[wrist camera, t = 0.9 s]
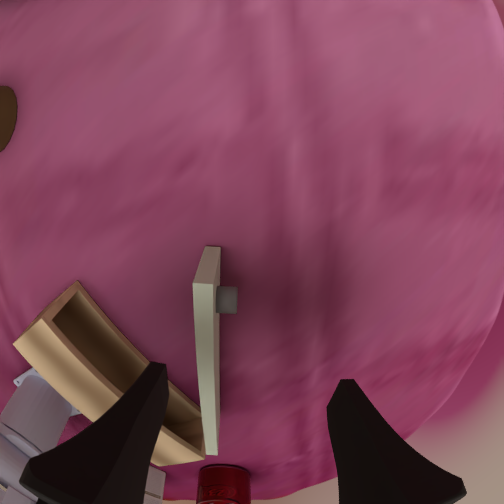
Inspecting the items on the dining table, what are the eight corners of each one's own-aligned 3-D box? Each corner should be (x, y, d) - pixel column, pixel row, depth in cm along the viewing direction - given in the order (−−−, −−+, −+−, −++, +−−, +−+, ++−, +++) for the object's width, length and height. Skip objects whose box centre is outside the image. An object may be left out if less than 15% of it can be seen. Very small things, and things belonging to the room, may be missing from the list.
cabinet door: (210, 413, 25) (206, 454, 20) (205, 246, 18) (192, 282, 14) (232, 414, 25) (231, 455, 20) (239, 248, 18) (238, 285, 14)
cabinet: (166, 426, 26) (158, 466, 21) (44, 308, 20) (12, 344, 15) (208, 414, 25) (204, 459, 20) (77, 280, 19) (41, 318, 14)
